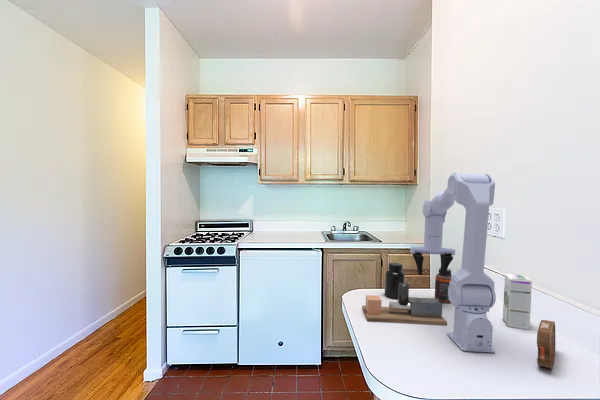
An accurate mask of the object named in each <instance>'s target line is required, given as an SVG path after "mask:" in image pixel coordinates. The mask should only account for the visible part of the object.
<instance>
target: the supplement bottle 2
mask: <svg viewBox="0 0 600 400" xmlns="http://www.w3.org/2000/svg"><path fill="white" fill-rule="evenodd" d="M440 270H441V267H440V268H438V273H437V274H436V275H435V282H434V298H436V299H438V300H439V301H440V302H441V303H445V304H447V303H448V304H450V303H451V302H450V300H449V297H448V287H449V285H450V281H451V276H452V275H453V274H452V270H451V268H447V270H446V273H445V276H442V275H441V274H440Z"/></svg>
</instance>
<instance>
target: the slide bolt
mask: <svg viewBox="0 0 600 400" xmlns="http://www.w3.org/2000/svg"><path fill="white" fill-rule="evenodd" d="M409 293H410V284H408V283H407V282H404V283H399V290H398V299H397V301H389V302H388V307H389V309H390V310H405V311H411V303H409V302H408V297H410V296H409V295H410V294H409Z"/></svg>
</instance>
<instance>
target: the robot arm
mask: <svg viewBox="0 0 600 400" xmlns="http://www.w3.org/2000/svg"><path fill="white" fill-rule="evenodd" d="M495 188H496V182H495V180H494V179H493V177H492V176H491V174H489V173H482V174H481V173H457V172H453V173H451V174H450V176H448V179H447V187H446V189H445V190H440V191H439V192H437V194H436V195H435V196H434V197H433V198H432V199H431V200H430V199H425V200H424V202H423V204H422V205H423V206H422V214H423V216H424V234H423V235H424V238H423V246H410V248H409V249H410V250H409V253H410V254H411V255H412V257H413V259H414V261H415V264H416V265H415V266H416V268H417V275H419V276H423V264H424V258H425V257H424V256H423V255H426V254H427V255H440V268H441V270H440V274H441V275H442V276H445V273H446V270H447V269H449V265H450V264H451V262H452V261H453V259H454V256H455V255H456V249H454V248H446V247H445V248H444V247H443V232H444V231H443V228H444V223H445V222H446V215H447V213H448V210H449V209H450V208H451V207H453V206H454V205H455V202H456V204H459V205H461V206H462V207H464V208H465V219H464V233H463V245H462V257H461V268H460V269H458V270H457V271H456V272H454V273H453V274H451V275H452V276H451V281H450V285H449V287H448V297H449V300H450V303H451V304H452V306H453V307H454V313H453V315H454V317H453V318H454V319H453V332H451V331H447V333H446V334H447V335H448V337H449V338H451V340H452V341H453V342H454V343H455V345H456V346H457V347H458V348H459V349H460V351H463V352H476V353H477V352H478V353H479V352H480V353H496V349H494V348H493V347H492V346H493V344H492V343H493V331H494V329H493V328H494V327H493V324H492V323H491V321H490V319H489V318H488V315H487V312H488V313H489V312H490V309H491V308H493V307H494V305H495V303H496V298H497V296H496V295H497V294H496V291H495V289H496V288H495V281H494V279H493V278H492V277H490V276H489V275H488V274H486V272H484V269H485V258H486V250H487V249H486V248H487V237H488V235H487V234H488V225H489V214H490V207H491V206H493V205H494V200H495V193H496V192H495Z"/></svg>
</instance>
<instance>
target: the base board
mask: <svg viewBox="0 0 600 400" xmlns="http://www.w3.org/2000/svg"><path fill="white" fill-rule="evenodd" d="M365 306H366V305H362V312H363V314H364V316H365V319H366V322H373V323H374V322H378V323H395V324H397V323H398V324H414V325H430V324H431V325H432V326H433V325H434V326H435V325H436V326H448V321H447V320H446V319H445V318H444V316H442V318H431V317H412V316H410V314H409V313H408V311H405V310H390V309H389V306H383V305H381V315H373V314H367V311H366V309H365Z"/></svg>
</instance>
